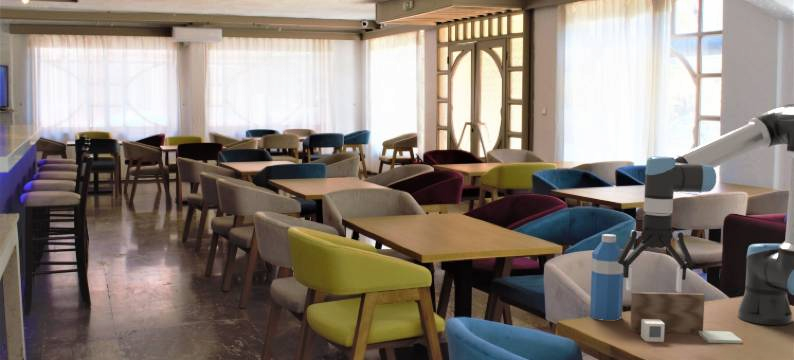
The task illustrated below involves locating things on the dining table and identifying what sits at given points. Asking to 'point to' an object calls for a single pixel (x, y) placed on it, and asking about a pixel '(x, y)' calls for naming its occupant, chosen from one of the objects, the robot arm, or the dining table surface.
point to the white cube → (652, 330)
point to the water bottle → (606, 280)
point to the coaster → (719, 337)
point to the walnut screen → (669, 311)
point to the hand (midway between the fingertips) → (653, 290)
